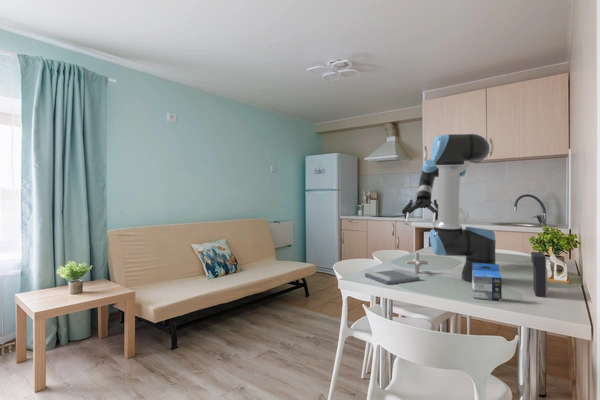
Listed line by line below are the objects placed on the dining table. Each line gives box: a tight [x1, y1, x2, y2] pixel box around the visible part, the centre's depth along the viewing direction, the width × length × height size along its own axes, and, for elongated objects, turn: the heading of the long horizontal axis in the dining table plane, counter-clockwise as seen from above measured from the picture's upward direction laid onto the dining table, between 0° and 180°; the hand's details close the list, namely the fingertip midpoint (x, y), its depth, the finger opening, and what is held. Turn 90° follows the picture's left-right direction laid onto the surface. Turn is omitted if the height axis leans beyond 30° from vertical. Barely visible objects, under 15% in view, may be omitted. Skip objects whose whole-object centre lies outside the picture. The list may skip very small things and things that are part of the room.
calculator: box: [530, 251, 549, 298], centre depth 124 cm, size 11×4×15 cm, turn 148°
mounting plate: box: [364, 266, 420, 285], centre depth 149 cm, size 16×18×3 cm
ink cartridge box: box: [471, 263, 503, 302], centre depth 118 cm, size 9×4×12 cm, turn 70°
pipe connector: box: [405, 251, 429, 274], centre depth 160 cm, size 10×10×10 cm
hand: (419, 223), depth 170 cm, fingers open, 13 cm apart
